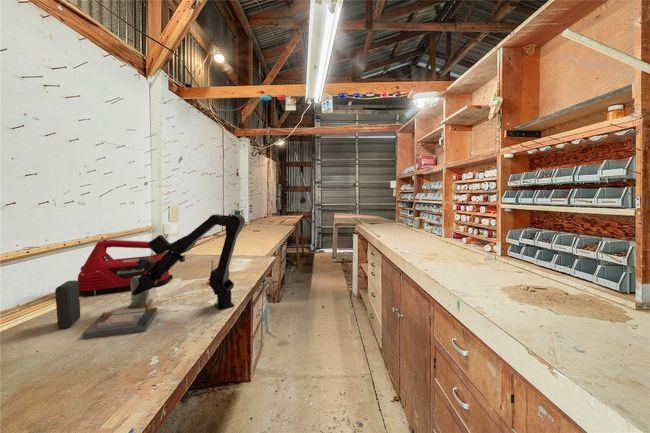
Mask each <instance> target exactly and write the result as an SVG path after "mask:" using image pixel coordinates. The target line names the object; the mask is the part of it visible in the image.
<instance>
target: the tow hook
mask: <svg viewBox="0 0 650 433" xmlns="http://www.w3.org/2000/svg"><path fill="white" fill-rule="evenodd" d="M214 269H215V262H214V259H211V271H213V270H214ZM209 282H210V281H206V285H207V286H208V285H209Z"/></svg>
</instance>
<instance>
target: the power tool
mask: <svg viewBox="0 0 650 433" xmlns="http://www.w3.org/2000/svg"><path fill="white" fill-rule="evenodd" d="M149 242H150V241H141V240H140V241H138V240H122V239H118V240H117V239H108V240H106V239H104V240H100V241H97V242H96V244H95V246H94V247H93V249H92V251H91V253H89V254H90V255H88V257H87V259H86V261H85V263H84V264H83V265H82V266H81V267H80V271H79V274H78V275H77V281H78V283H79V297H87V298H88V297H95V296H96V297H98V296H105V295H112V294H119V293H120V294H121V293H125V292H131V279H132V278H133V277H134V276H142V275H143V274H144V273H147V270H148V269H146V268H143V267H138V266H136V265H137V262H138V261H139V259H140V258H141V257H147V258H149V259H152V260H154V261H157V260H160V259H161V258H162V257H163V256H164V255H165V254H166V253H167V252H166V253H165V254H164V255H161V254H160V255H157V254H156V253H155V255H144V256H135V257H133V256H132V257H125V258H115V259H114V258H113V257H112V256H111V255H109V254H108V253H107V250H108V248H130V249H131V248H132V249H150V248H149V247H148V246H147V245H148V243H149ZM169 271H170V270H169ZM169 271H168V272H166V273H165V274H164V275H163V276H162V277H161V278H160V279H159V280H157V284H156V285H155V286H154V287H153V288H152V289H155V288H160V287H162V286H163V287H164V286H166V285H167V284H168V283H169V282H170V281H172V280H173V279H174V278H173V277H174V276H173V274H169V273H170V272H169Z"/></svg>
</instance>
